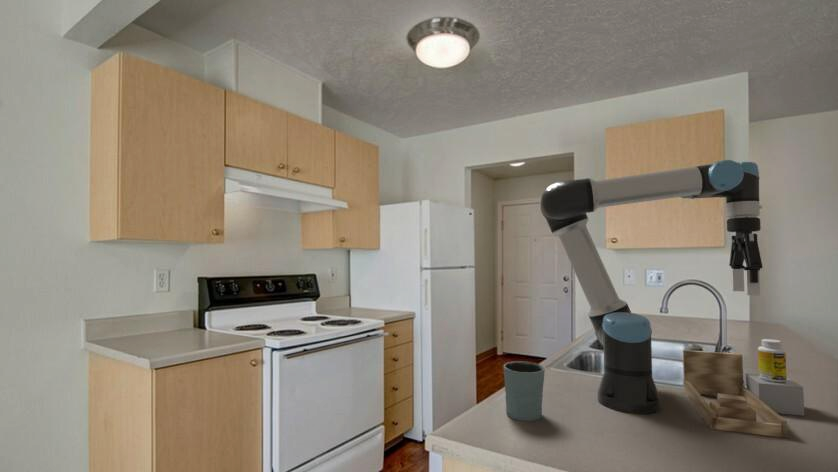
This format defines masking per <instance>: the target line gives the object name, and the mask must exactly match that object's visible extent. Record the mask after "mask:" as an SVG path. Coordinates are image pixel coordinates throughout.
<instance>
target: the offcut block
mask: <svg viewBox="0 0 838 472" xmlns="http://www.w3.org/2000/svg"><path fill="white" fill-rule="evenodd" d="M716 398H717V402H718V403H719V405H720V406H721V407H729V408H737V409H745V410H747V401H746V399H745V398H744V397H743V396H735V395H726V394H717V396H716Z"/></svg>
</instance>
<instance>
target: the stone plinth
mask: <svg viewBox="0 0 838 472" xmlns="http://www.w3.org/2000/svg"><path fill="white" fill-rule="evenodd" d="M745 384H746V385H745V386H746V387H745V388H747V389H748V390H749V391H750V392H751V393H753V394H754V395H755V396H756V397H758V398H759V399H760V400H761V401H762V402H764V403H765V404H766V405H767V406H768V407H770V408H771V409H772V410H773V411H775V412H776V413H777V414H783V415H784V414H786V415H793V416H805V401H804V400H805V399H804V395H805V394H804V387H803V386H802V385H800V384H799V383H797V382H796V381H794V380H792V379H791V378H789V377H787V376H786V381H785V382H771V381H766V380H763V379H761V378H760V377H759V374H752V373H745Z"/></svg>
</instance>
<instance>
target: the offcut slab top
mask: <svg viewBox="0 0 838 472" xmlns="http://www.w3.org/2000/svg"><path fill="white" fill-rule="evenodd" d="M709 406H710V407H711V408H712V410H713V411H714V412H715V413H716V417H723V418H732V419H741V420H750V421H757V414H756V410H754V409H753V408H751V407H750V406H748V405H747V410H745V409H737V408H729V407H721V406H720V405H719V403H718V401H709Z"/></svg>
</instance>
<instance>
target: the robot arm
mask: <svg viewBox="0 0 838 472" xmlns="http://www.w3.org/2000/svg"><path fill="white" fill-rule="evenodd" d="M675 198H681V199H691V200H694V199H710V198H725V215H726V218H727V220H726V231H727V232H729V233H735V235H731V237H730V239H731V248H730V257H729V263H728V265H729V267H731V279H732V281H731V285H732V292H745V291H746V295H747V296H759V297H760V296H761V285H760V284H761V281H760V270H761V269H763V262H762V257H761V253H760V252H761V251H760V249H759V248H760V247H759V243H758V242H759V241H758V233H753V232H759V231H761V228H762V227H761V218H760V214H761V211H760V209H762V208H763V205H761V204H760V172H759V166H758V164H757V163H756V162H753V161H740V162H738V161H734V160H731V159H724V160H719V161H716V162H713V163H710V164H704V165H703V164H702V165H699V166H690V167H683V168H677V169H675V168H674V169H668V170H663V171H662V170H661V171H655V172H648V173H643V174H642V173H641V174H633V175H628V176H621V177H613V178H612V177H611V178H606V179H601V180H600V179H599V180H595V179H592V178H591V177H588V178H580V179H569V180H560V181H555V182H553V183H551V184H550V185H548V186H547V187H546V188H545V189H544V191H543V193H542V195H541V199H540V211H541V214H542V216H543V217H544V219H545V220H546V222H547V225H548V227H549V229H550V231H551V233H552V234H553V235H555V236H557V237H559V239H560V242H561V244H562V246H563V248H564V250H565V253H566V255H567V257H568V260H569V263H570V264H571V266H572V268H573V271H574V274H575V275H576V278H577V280H578V283H579V284H580V286H581V290H582V291H583V293H584V296H585V298H586V300H587V303H588V305H589V308H590V310H589V312H588V317H589V319H590V322H591V325H592V326H593V329H594V333H595V337H596V338H597V340H598V342H599V343H600V344H601V345H602V346H603V373H602V374H603V375H602V377H601V381H600V384H599V387H598V389H597V400H598V402H599V403H600V404H601V405H603V406H605V407H606V408H607V407H608V408H610V409H613V410H617V411H621V412H625V413H632V414H633V413H634V414H651V413H657V412H658V411H660V410H661V408H662V403H661V397H660V394H659V391H658V388H657V385H656V383H655V381H654V377H653V358H652V357H653V356H652V355H653V354H652V353H653V351H652V349H653V347H652V333H653V332H652V331H653V330H652V328H651V326H652V325H651V322H650V319H648V318H647V317H646V316H643V315H640V314H637V313H635V312H634V313H633V312H632V311H631V309H630V307H629V304H628V302H627V301H625V300H622V299H620V297H619V295H618V293H617V291H616V288H615V287H614V284H613V282H612V280H611V277H610V276H609V273H608V272H607V269H606V266H605V265H604V262H603V260H602V259H601V256H600V253H599V252H598V250H597V247H596V244H595V242H594V241H593V239H592V236H591V234H590V232H589V230H588V227H587V224H588V221H589V217H588V215H587V213H594V212H595V211H597V209H599V208H607V207H613V206H621V205H629V204H637V203H642V202H643V203H644V202H652V201H659V200H665V199H675ZM744 263H745V265H746V266H745V265H744ZM745 286H746V287H745ZM745 289H746V290H745Z"/></svg>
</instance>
